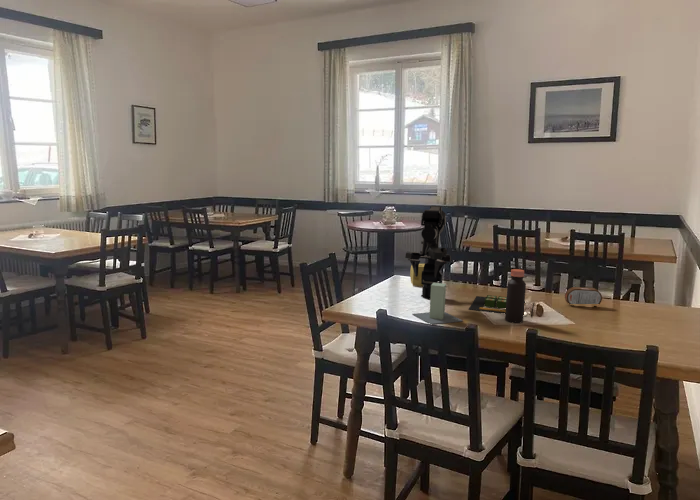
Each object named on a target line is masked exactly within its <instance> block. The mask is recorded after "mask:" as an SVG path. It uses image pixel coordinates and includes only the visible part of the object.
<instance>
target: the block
mask: <svg viewBox="0 0 700 500" xmlns="http://www.w3.org/2000/svg"><path fill="white" fill-rule="evenodd" d="M446 292H447V283H443V282H442V283H433V284H432V285H431V296H430V299H429V312H430V316H429V318H434V319H443V317H444V314H445V312H446V311H445V310H446V306H445V305H446Z"/></svg>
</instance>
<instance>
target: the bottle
mask: <svg viewBox="0 0 700 500" xmlns="http://www.w3.org/2000/svg"><path fill="white" fill-rule="evenodd" d="M510 277H511V278H510V279H509V280H508V281H507V286H506V297H507V298H506V309H505V310H506V312H505V314H504V319H505V321H506V322H508V323H512V322H513V323H514V324H520V322H521V323H523V322H524V316H523V315H524V303H525V301H526V290H527V289H526V288H527V287H526V285H527V283H526V282H525V280H524V277H525V270H524V269H518V268H513V269H512V268H511V270H510Z"/></svg>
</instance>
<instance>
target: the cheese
mask: <svg viewBox="0 0 700 500" xmlns="http://www.w3.org/2000/svg"><path fill="white" fill-rule="evenodd" d="M424 265H425V263H419V268H418V276H417V277H416V276H415V273H414V270H413V267H412V264H411V266H410V272H409V274H410V275H409V277H410V282H411V284H412V286H413V287H423V284H421V276H422V271H423V269H424Z"/></svg>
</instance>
